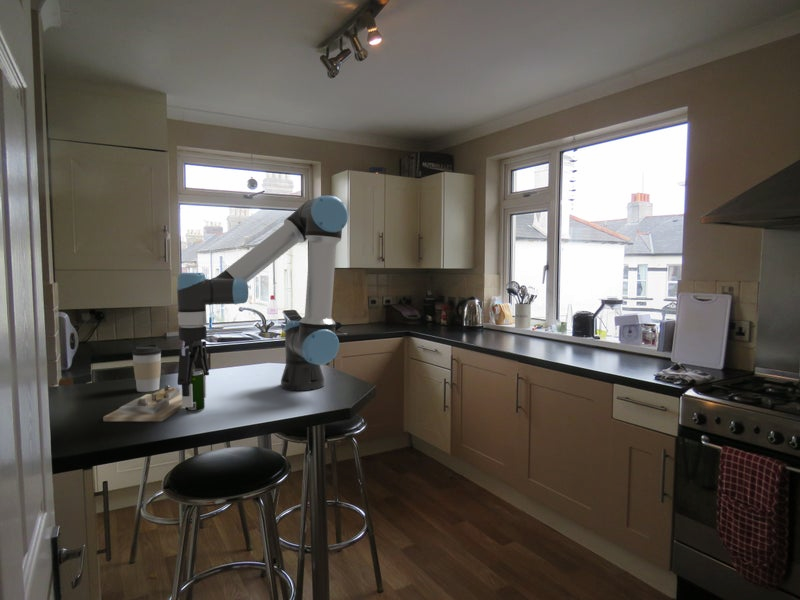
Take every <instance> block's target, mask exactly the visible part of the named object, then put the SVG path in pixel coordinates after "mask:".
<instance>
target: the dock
mask: <svg viewBox="0 0 800 600" xmlns="http://www.w3.org/2000/svg"><path fill="white" fill-rule="evenodd" d="M163 389H164V387H163V388H161V389H158V390H156V391H154V392H153V393H146V394H144V395H142V396H141V397H136V398H135V399H133V400H132V401H131V400H130V401H129V402H127V403H125V404H123V405H122V406H120V407H119V408H118V409H116V410H114V411H112V412H110V413H108V414H106V415H104V416H103V419H102V421H103V422H164V420H166V419H168V418H169V417H171V416H173V415H174V414H175V413H176V412H178V411H180V410H181V409H183V408H184V407H182V393H181V392H180V387H179V388H178V387H175V389H174V390H172V391H170V392H169V393H167V394H165V397H166V398H158V399H157V401H156V393H158V392H160V391H162V390H163Z"/></svg>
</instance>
